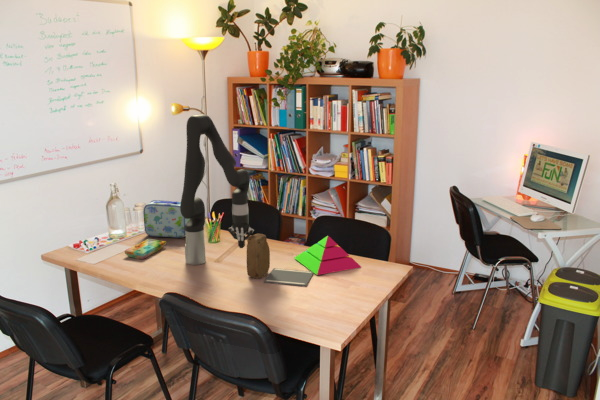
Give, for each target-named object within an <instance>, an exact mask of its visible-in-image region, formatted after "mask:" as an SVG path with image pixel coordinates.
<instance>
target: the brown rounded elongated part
mask: <svg viewBox="0 0 600 400" xmlns="http://www.w3.org/2000/svg"><path fill="white" fill-rule="evenodd" d="M246 241H247V244H246V272H247V275H248V276H249V277H250V278H251V279H261V278H264V277H265V276H266V275H267V274H268V272H269V270H270V264H271V263H270V261H271V258H270V257H271V256H270V255H271V253H270V252H271V251H270V246H269V243H268V240H267V236H266V234H263V233H255V234H251V235H250V237H249V238H248V239H247V240H246Z"/></svg>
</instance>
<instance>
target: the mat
mask: <svg viewBox="0 0 600 400" xmlns="http://www.w3.org/2000/svg"><path fill="white" fill-rule="evenodd" d="M313 275H314V273H313V272H312V271H311V270H309V271H307V270H298V269H287V268H277V267H274V268H272V270H271V271H270V273H269V274H268V275H267V277H266V278H265V279H264V281H263V283H264V284H276V285H287V286H296V287H297V286H298V287H305V288H306V287H308V284H309V283H310V280H311V278H312V277H313Z"/></svg>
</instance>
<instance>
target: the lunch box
mask: <svg viewBox="0 0 600 400" xmlns="http://www.w3.org/2000/svg"><path fill="white" fill-rule="evenodd" d="M180 204H181V201H178V200H177V201H173V200H172V201H169V200H159V199H157V200H156V199H154V200H151V201H150V202H149V203H147V204H145V205H144V207H143V225H144V232H145V233H146V235H147V236H149V237H155V238H157V237H158V238H159V237H161V238H177V239H181V238H184V237H186V236H185V225H186V223H187V222H188V221H189V220H190V219H186V218H184V217H183V216H182V214H181V211H180Z"/></svg>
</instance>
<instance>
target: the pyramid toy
mask: <svg viewBox="0 0 600 400" xmlns="http://www.w3.org/2000/svg"><path fill="white" fill-rule="evenodd" d="M294 259H295V260H296V261H298V263H300V264H302V266H304V267H306V268H307V269H308V270H309V271H310V272H313V274H314V275H316V276H320V275H326V274H331V273H337V272H342V271H348V270H354V269H358V268H362V266H361V265H360V264H359V263H358V262H357V261H356V260H355V259H354V258H353V257H351V256H350V254H349V253H347V251H345V250H344V249H343V248H342V247H341V246H339V244H338V243H336V241H335V240H334V239H332V237H330V235H327V236H325V237H323V238H322V239H321V240H319V241H318V242H317V243H314V244H313V245H311V246H310V247H308V248H307V249H306V250H304V251H302V252H301V253H300V254H298V255H296V256H294Z"/></svg>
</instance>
